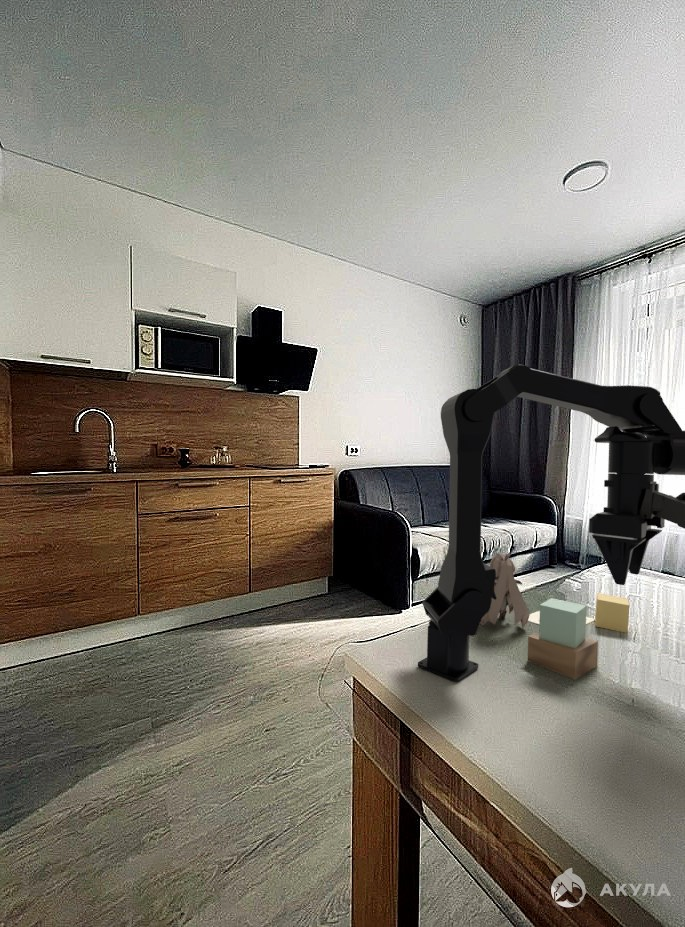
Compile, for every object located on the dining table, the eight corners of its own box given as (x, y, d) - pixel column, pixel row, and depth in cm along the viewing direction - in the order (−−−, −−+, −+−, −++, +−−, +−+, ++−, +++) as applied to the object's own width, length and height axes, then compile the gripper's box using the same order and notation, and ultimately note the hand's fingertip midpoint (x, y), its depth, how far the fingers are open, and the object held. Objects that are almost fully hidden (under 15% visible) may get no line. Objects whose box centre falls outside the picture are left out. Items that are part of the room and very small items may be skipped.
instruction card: (566, 633, 79) (566, 632, 79) (519, 618, 86) (519, 617, 86) (596, 620, 86) (596, 619, 86) (550, 607, 93) (550, 606, 93)
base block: (574, 681, 62) (575, 652, 62) (527, 662, 67) (528, 636, 67) (597, 668, 66) (597, 641, 66) (550, 651, 72) (551, 626, 72)
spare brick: (627, 633, 80) (629, 605, 80) (595, 626, 82) (597, 599, 82) (625, 624, 84) (627, 598, 84) (594, 618, 87) (596, 592, 87)
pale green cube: (575, 648, 63) (576, 613, 63) (538, 638, 67) (539, 604, 67) (585, 639, 67) (586, 605, 67) (550, 629, 70) (551, 598, 70)
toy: (517, 612, 88) (525, 543, 83) (529, 641, 80) (540, 567, 75) (470, 609, 89) (476, 541, 84) (478, 638, 81) (485, 564, 76)
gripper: (691, 476, 54) (687, 605, 54) (706, 475, 67) (704, 579, 67) (589, 473, 62) (586, 586, 62) (621, 473, 75) (619, 566, 75)
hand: (627, 578), depth 66 cm, fingers open, 9 cm apart
